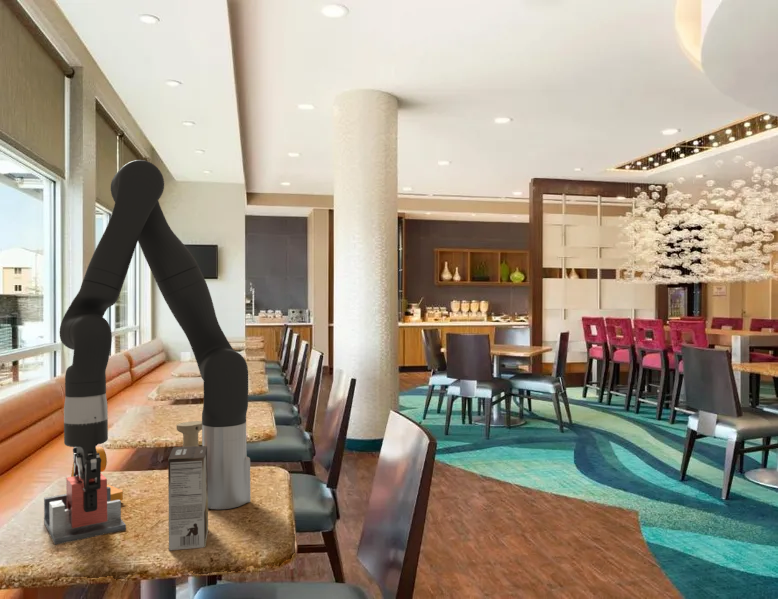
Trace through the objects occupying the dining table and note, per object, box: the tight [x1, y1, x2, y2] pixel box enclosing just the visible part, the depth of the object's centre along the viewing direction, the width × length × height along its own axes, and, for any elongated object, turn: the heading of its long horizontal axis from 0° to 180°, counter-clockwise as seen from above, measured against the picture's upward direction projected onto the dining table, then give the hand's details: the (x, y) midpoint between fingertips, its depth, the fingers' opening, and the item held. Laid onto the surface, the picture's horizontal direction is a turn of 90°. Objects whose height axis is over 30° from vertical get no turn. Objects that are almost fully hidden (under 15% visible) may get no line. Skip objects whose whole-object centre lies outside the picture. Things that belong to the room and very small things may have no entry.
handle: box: [175, 420, 202, 447], centre depth 145 cm, size 5×6×15 cm
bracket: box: [70, 446, 124, 502], centre depth 135 cm, size 11×7×12 cm, turn 49°
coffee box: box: [167, 445, 209, 551], centre depth 113 cm, size 9×6×16 cm
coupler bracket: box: [43, 487, 127, 546], centre depth 120 cm, size 12×14×6 cm
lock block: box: [65, 473, 108, 528], centre depth 118 cm, size 6×6×8 cm
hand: (87, 506), depth 118 cm, fingers closed on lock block, 6 cm apart
